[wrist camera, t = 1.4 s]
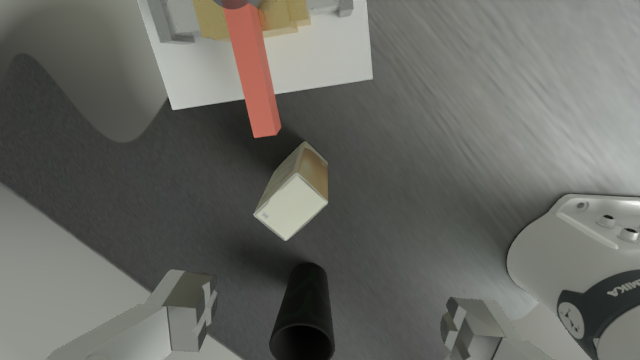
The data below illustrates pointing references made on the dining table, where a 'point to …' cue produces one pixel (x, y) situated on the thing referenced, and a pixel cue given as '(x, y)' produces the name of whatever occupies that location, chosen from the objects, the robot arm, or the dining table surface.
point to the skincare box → (294, 192)
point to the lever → (252, 64)
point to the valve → (209, 19)
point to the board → (282, 53)
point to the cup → (304, 318)
